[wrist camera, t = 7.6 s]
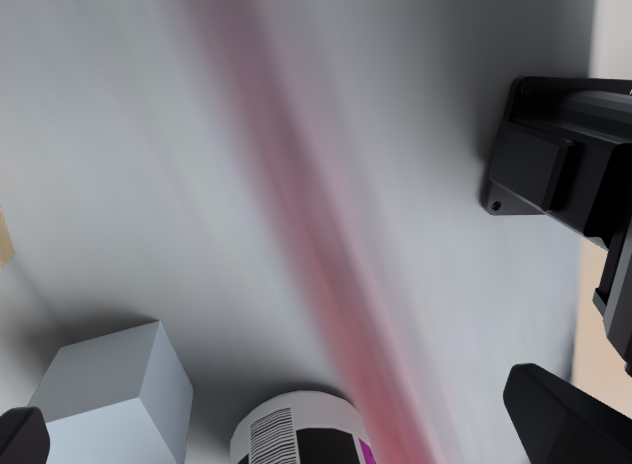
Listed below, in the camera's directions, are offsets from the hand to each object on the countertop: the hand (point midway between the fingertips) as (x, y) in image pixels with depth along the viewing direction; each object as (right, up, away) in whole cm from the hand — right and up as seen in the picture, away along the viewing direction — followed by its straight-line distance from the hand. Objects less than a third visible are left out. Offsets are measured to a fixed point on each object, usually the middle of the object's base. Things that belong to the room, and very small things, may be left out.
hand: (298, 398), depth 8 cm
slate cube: (-9, -4, +14) cm, 17 cm away
